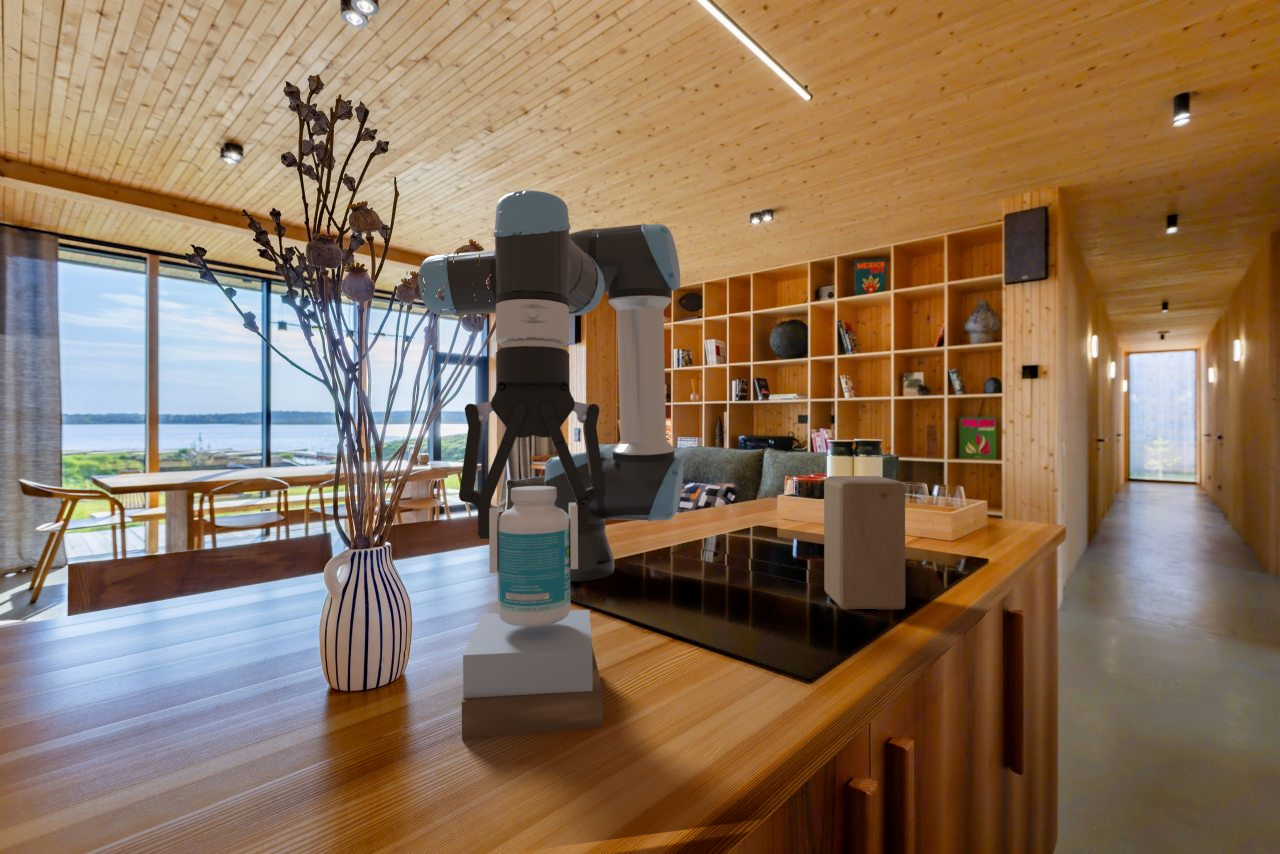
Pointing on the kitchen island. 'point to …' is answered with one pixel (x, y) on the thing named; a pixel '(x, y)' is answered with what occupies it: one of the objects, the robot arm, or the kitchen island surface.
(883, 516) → the wooden block
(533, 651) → the tower top
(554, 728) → the tower base
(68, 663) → the kitchen island surface
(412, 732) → the kitchen island surface
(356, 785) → the kitchen island surface
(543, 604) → the pill bottle
